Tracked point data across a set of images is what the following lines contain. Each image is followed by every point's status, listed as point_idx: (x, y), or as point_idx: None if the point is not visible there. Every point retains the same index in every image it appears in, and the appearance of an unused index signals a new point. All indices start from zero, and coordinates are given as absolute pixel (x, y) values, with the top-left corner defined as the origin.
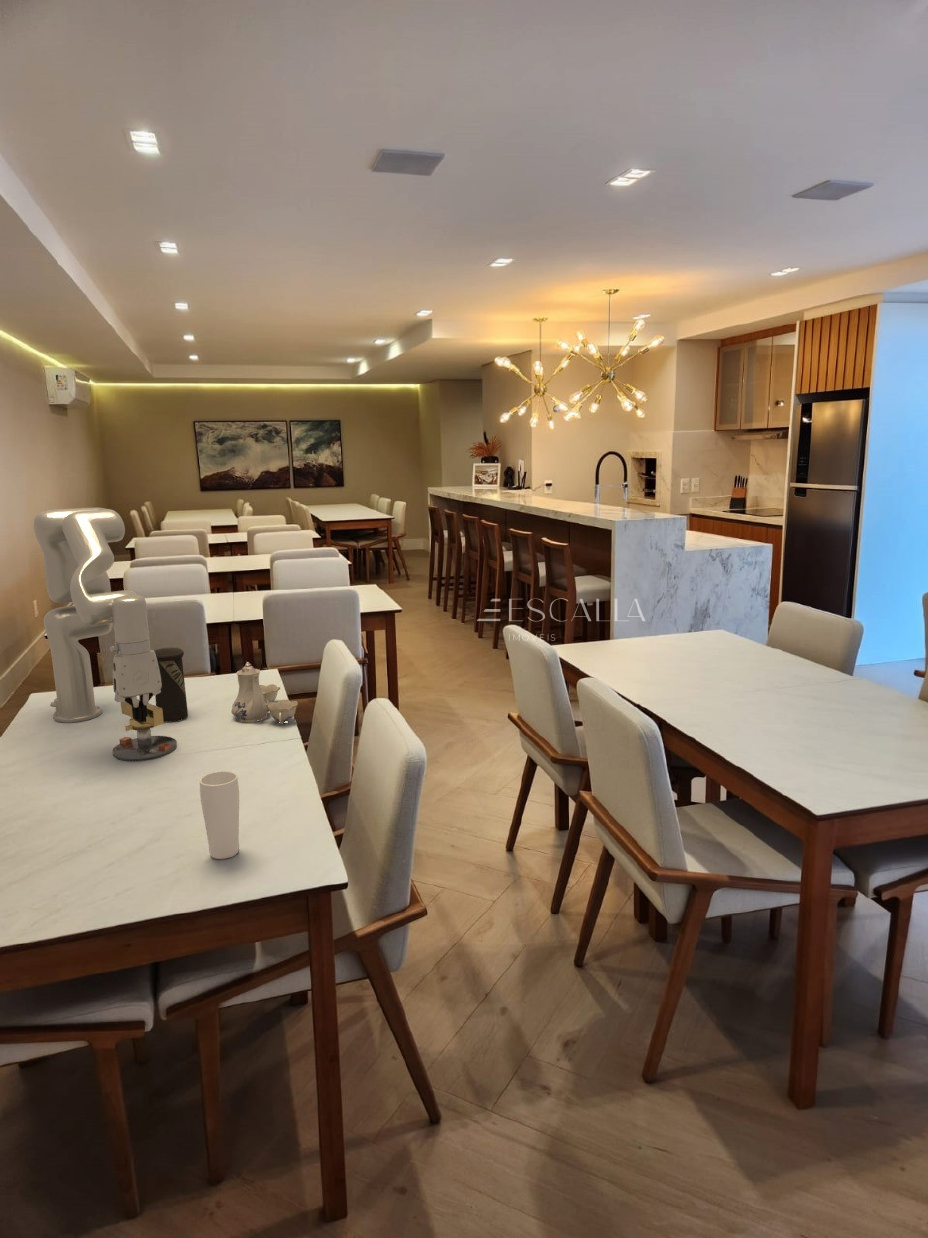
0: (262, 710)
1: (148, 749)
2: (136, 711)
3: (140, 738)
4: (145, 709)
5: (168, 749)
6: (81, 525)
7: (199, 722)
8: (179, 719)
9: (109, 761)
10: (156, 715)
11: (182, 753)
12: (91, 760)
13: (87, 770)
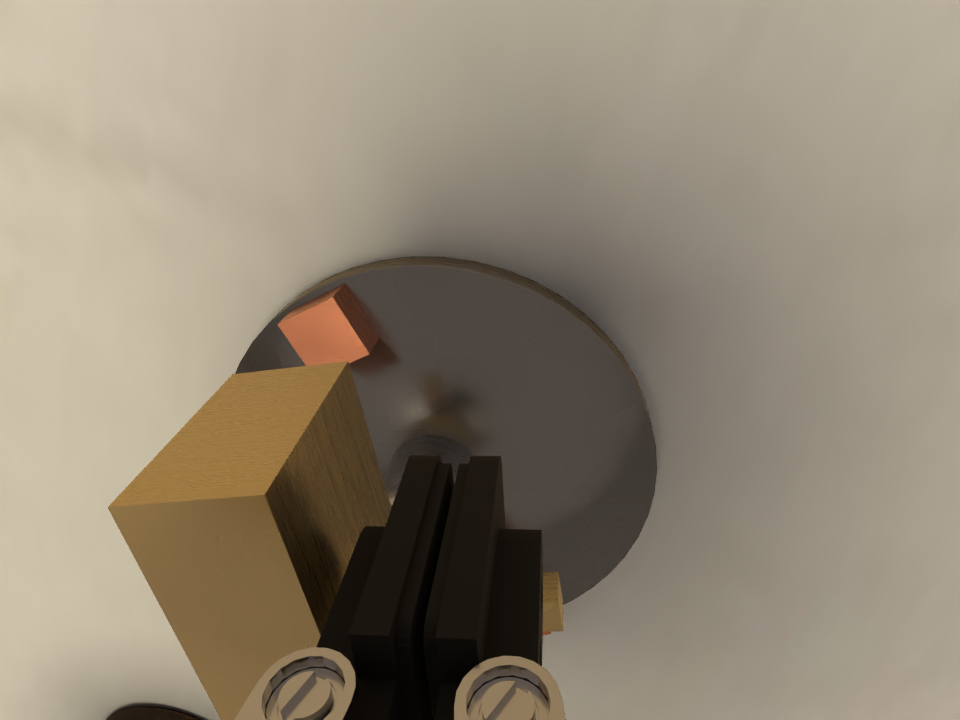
0: None
1: (436, 402)
2: (509, 610)
3: None
4: (357, 605)
5: (312, 299)
6: None
7: (54, 632)
8: (147, 714)
9: (708, 429)
10: (254, 441)
11: (234, 219)
12: (782, 519)
13: (907, 375)
